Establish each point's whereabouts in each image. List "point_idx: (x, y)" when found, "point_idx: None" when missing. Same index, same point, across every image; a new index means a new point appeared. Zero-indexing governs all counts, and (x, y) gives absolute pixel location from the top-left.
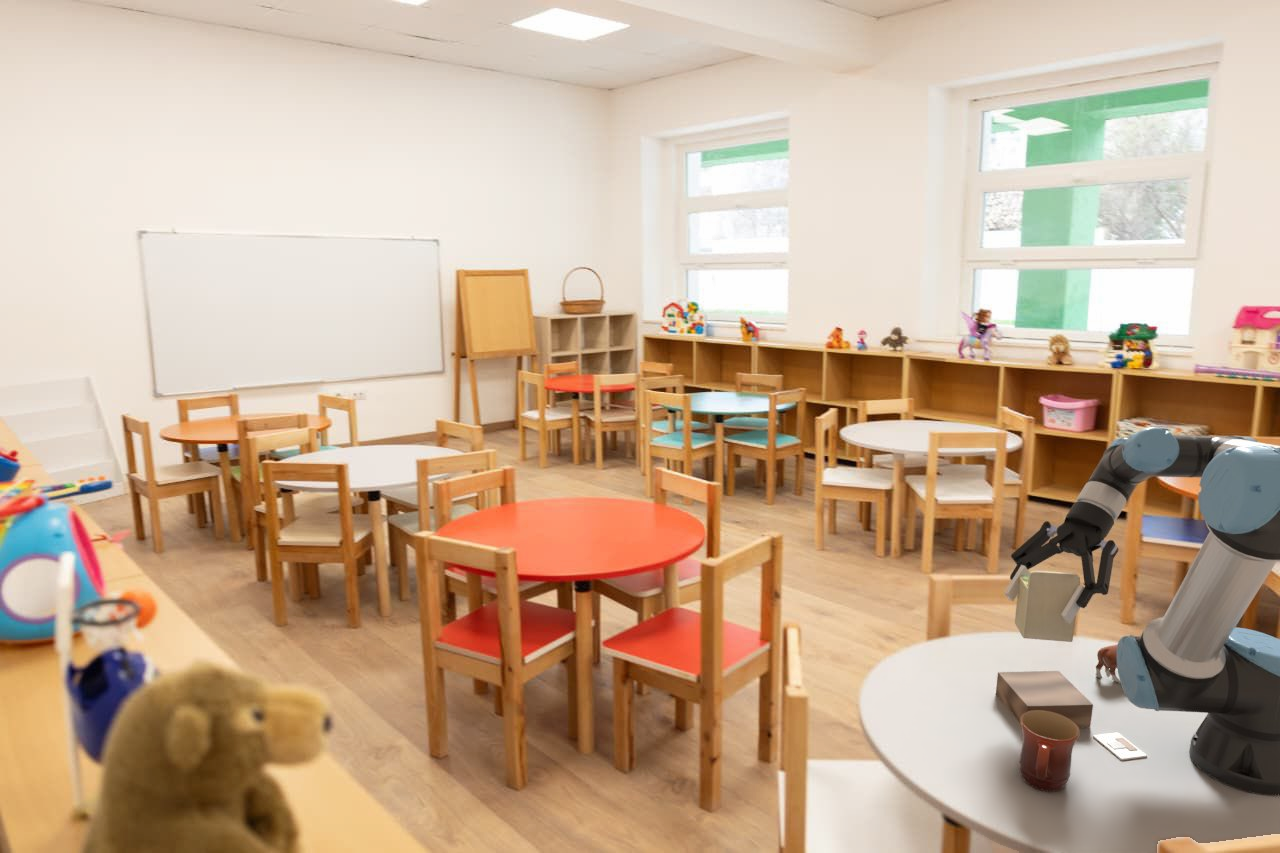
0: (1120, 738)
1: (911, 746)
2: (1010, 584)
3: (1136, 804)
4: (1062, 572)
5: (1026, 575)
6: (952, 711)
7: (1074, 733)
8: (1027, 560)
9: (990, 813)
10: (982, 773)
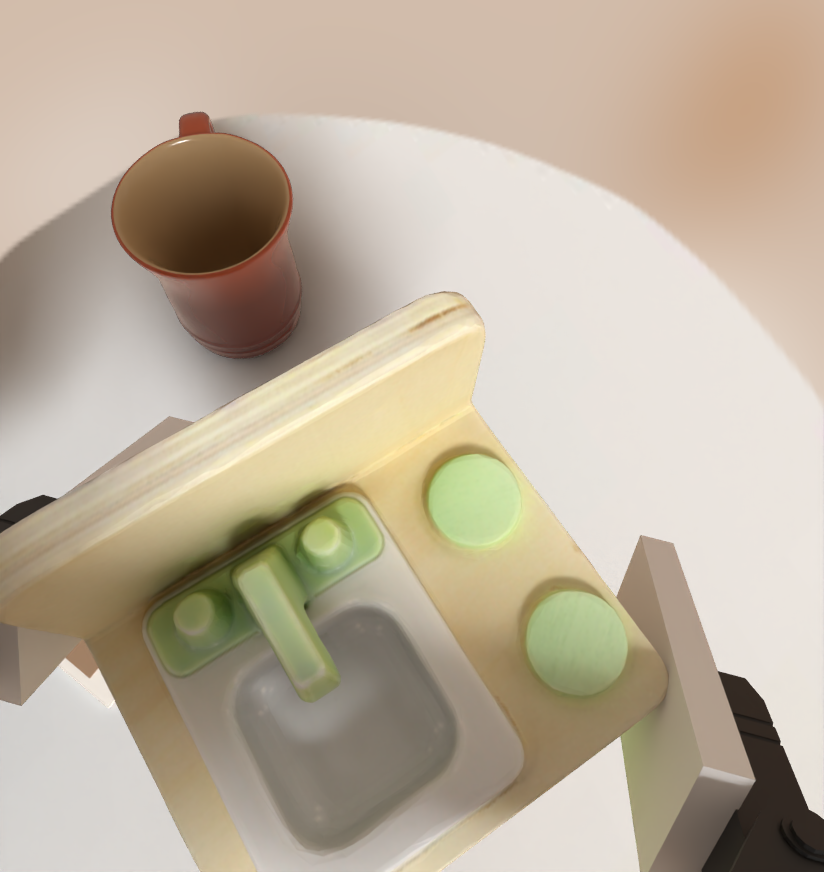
0: (93, 665)
1: (560, 235)
2: (679, 591)
3: (27, 370)
4: (158, 489)
5: (647, 801)
6: (576, 458)
7: (133, 236)
8: (741, 863)
9: (306, 140)
10: (375, 247)
